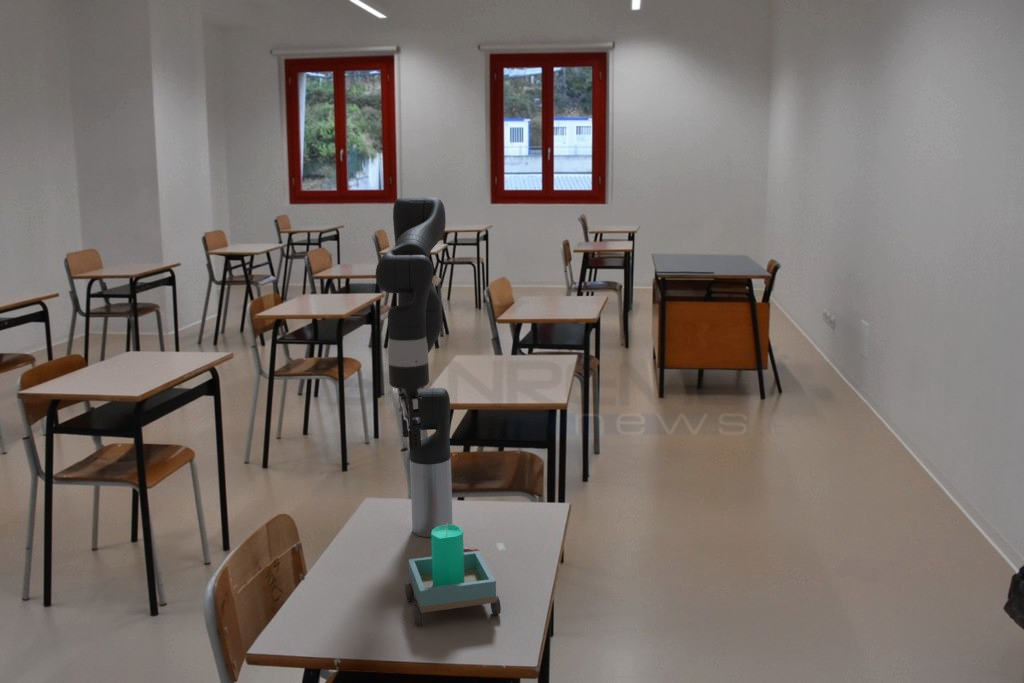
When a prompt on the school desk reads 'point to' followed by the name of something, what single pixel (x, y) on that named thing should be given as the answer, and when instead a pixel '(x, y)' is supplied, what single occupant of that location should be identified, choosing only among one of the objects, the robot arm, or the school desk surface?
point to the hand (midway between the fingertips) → (411, 442)
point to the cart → (451, 587)
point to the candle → (447, 555)
